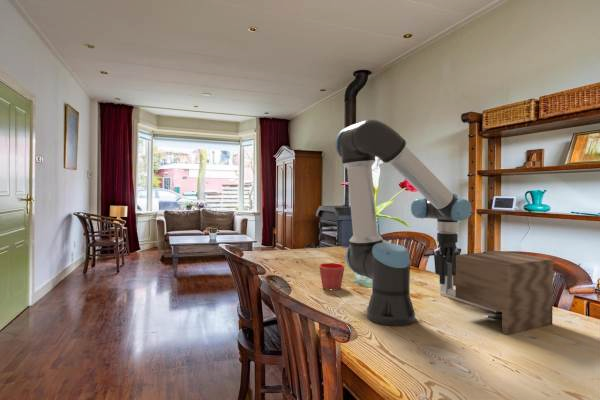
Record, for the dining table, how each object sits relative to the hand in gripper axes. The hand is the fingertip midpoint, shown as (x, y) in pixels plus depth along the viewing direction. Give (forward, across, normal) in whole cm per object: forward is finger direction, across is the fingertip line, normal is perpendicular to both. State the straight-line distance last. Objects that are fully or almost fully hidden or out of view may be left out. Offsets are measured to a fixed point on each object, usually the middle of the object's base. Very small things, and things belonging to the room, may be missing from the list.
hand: (446, 291), depth 141 cm
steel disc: (+2, +7, +26) cm, 27 cm away
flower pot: (+2, +36, -29) cm, 46 cm away
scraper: (+2, 0, +10) cm, 11 cm away
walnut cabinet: (+1, +6, +28) cm, 28 cm away
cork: (+2, -18, -10) cm, 21 cm away
